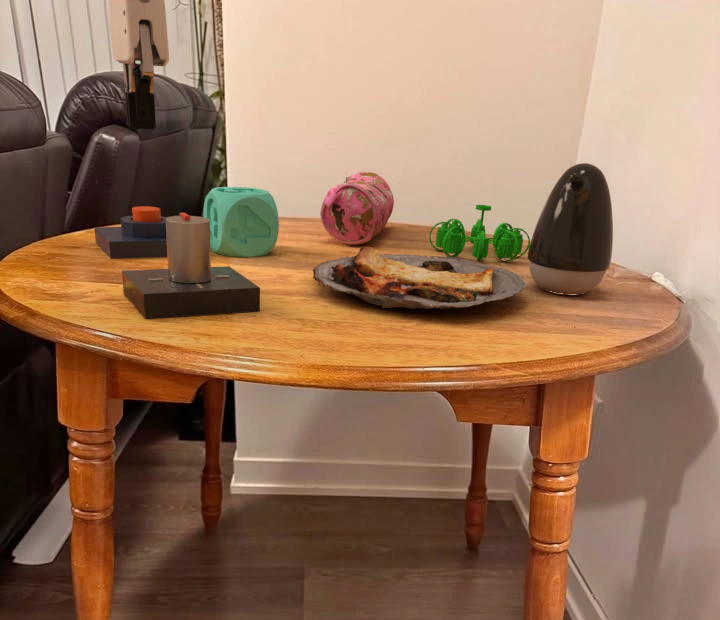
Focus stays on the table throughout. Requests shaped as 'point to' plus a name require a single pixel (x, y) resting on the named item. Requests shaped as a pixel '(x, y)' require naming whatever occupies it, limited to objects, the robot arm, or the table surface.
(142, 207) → the button
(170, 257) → the knob
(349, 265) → the food plate
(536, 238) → the black egg-shaped diffuser
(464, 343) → the table surface
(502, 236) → the chandelier
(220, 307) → the knob console
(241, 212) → the decorative dice
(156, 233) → the button box
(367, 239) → the pencil case
